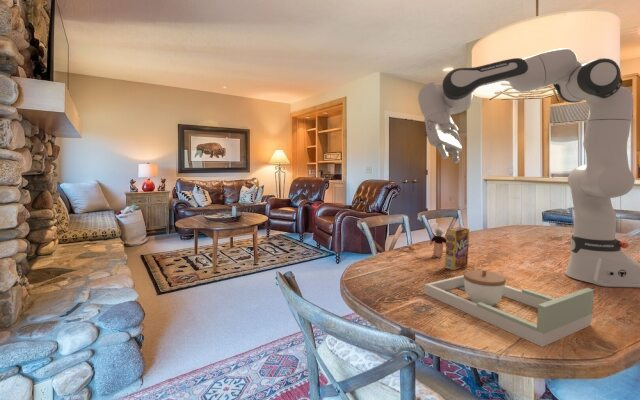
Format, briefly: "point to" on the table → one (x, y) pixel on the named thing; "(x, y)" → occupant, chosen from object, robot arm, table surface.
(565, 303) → the open rectangular frame
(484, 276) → the lidded jar
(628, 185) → the robot arm
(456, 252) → the candy box
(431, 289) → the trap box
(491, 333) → the table surface
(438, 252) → the grandmother figurine
